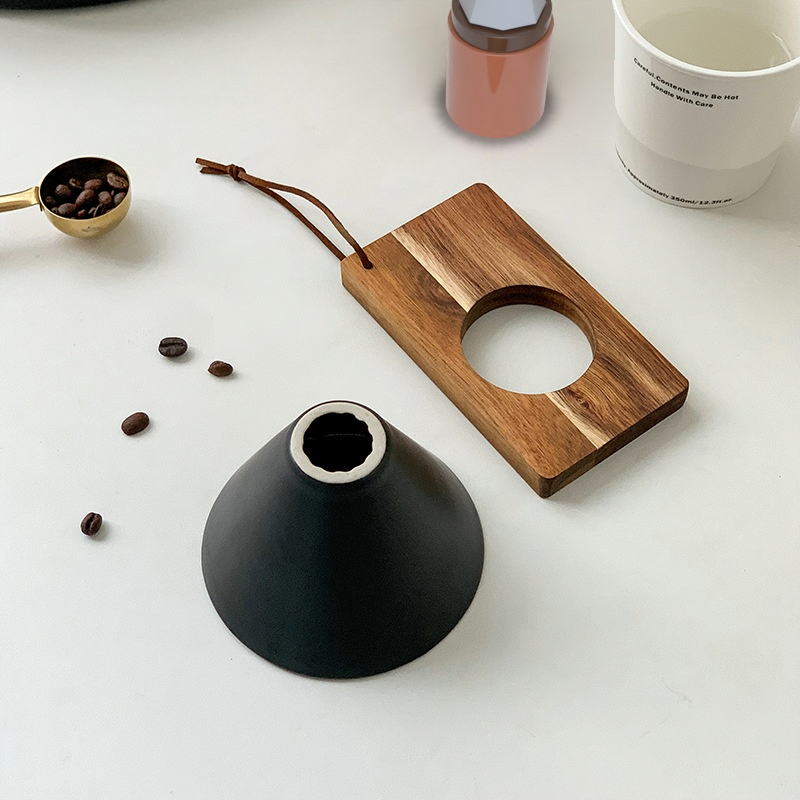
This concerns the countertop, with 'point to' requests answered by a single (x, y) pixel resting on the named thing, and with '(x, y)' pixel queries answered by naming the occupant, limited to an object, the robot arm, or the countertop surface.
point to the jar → (497, 74)
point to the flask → (503, 12)
